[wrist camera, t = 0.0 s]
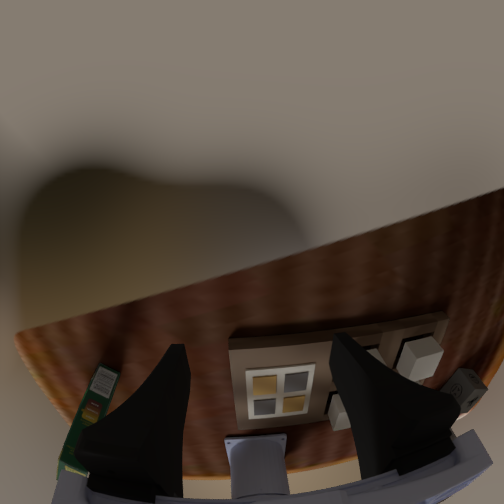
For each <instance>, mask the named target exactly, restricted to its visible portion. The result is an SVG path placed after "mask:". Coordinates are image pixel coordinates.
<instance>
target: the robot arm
mask: <svg viewBox="0 0 504 504" xmlns="http://www.w3.org/2000/svg"><path fill="white" fill-rule="evenodd" d="M329 367H330V371H331V375H332V378H333V381H334V384H335V386H336V389H337V391H338V394H339V396H340V398H341V401H342V403H343V406H344V408H345V411H346V413H347V416H348V419H349V422H350V425H351V429H352V433H353V437H354V441H355V446H356V450H357V455H358V460H359V466H360V473H361V479H362V480H360V481H356V482H353V483H348V484H345V485H341V486H336V487H331V488H326V489H321V490H316V491H311V492H305V493H298V494H291V495H290V491H289V485H288V478H287V472H286V466H285V460H284V455H285V447H286V439H287V435H286V434H285V433H282V434H273V435H262V436H247V437H227V438H225V446H226V450H227V454H228V459H229V463H230V469H231V494H232V499H190V498H183V484H182V483H183V481H182V447H183V430H184V423H185V418H186V412H187V406H188V400H189V394H190V381H191V372H190V368H189V364H188V359H187V355H186V350H185V346H184V344H171V345H170V347H169V348H168V350H167V351H166V353H165V354H164V356H163V357H162V359H161V360H160V362H159V363H158V365H157V366H156V367H155V369H154V370H153V371H152V373H151V374H150V375H149V377H148V378H147V379H146V380H145V381H144V383H143V384H142V385H141V386H140V387H139V388H138V389H137V390H136V391H135V393H134V394H132V395H131V396H130V397H129V398H128V399H127V400H126V401H125V402H124V403H123V404H122V405H120V406H119V407H118V408H117V409H115V410H114V411H113V412H111V413H110V414H108V415H107V416H105V417H104V418H102V419H101V420H99V421H97V422H95V423H94V424H92V425H90V426H88V427H86V428H84V429H82V431H81V433H80V435H79V437H78V440H77V443H76V446H75V449H74V452H73V453H74V456H75V458H76V459H77V460H78V462H79V463H80V464H81V465H82V466H83V467H84V468H85V469H86V470H87V471H89V472H90V475H89V478H87V477H85V476H83V475H80V474H77V473H73V472H70V471H67V470H64V469H62V470H61V472H60V475H59V479H58V482H57V485H56V489H55V493H54V496H53V499H52V503H51V504H436V503H438V502H440V501H442V500H444V499H446V498H447V497H449V496H451V495H453V494H454V493H456V492H458V491H460V490H461V489H463V488H464V487H466V486H468V485H469V484H470V483H471V482H472V481H474V480H475V479H476V478H477V477H479V476H480V475H481V474H482V473H483V472H484V471H485V470H487V469H488V468H489V467H490V466H491V465H492V464H493V461H492V460H491V458H490V456H489V454H488V453H487V451H486V449H485V448H484V446H483V444H482V442H481V441H480V439H479V437H478V436H477V434H476V433H475V431H474V429H472V430H470V431H468V432H466V433H464V434H462V435H461V436H459V437H457V438H456V439H454V440H453V441H452V440H451V438H450V436H451V435H452V432H451V431H450V428H451V426H452V425H453V423H454V422H455V421H456V419H457V418H458V416H459V415H460V412H461V406H460V405H459V403H458V402H457V400H456V399H455V397H454V396H453V395H452V394H448V393H444V392H441V391H437V390H434V389H431V388H428V387H425V386H423V385H420V384H418V383H416V382H414V381H412V380H409V379H407V378H405V377H404V376H402V375H400V374H398V373H397V372H395V371H393V370H392V369H390V368H389V367H387V366H386V365H384V364H383V363H382V362H380V361H379V360H378V359H376V358H375V357H374V356H373V355H371V354H370V353H369V352H368V351H366V350H365V349H364V348H363V347H362V346H361V345H360V344H358V343H357V342H356V341H355V340H354V339H353V338H352V337H351V336H349V335H348V334H347V333H346V332H341V333H334V335H333V341H332V347H331V352H330V358H329Z"/></svg>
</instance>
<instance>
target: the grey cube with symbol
mask: <svg viewBox="0 0 504 504" xmlns="http://www.w3.org/2000/svg"><path fill="white" fill-rule="evenodd" d="M487 390H488V388H487V387H486V386H485V384H484V383H483V382H482V381H481V379H480V378H479V377H478V375H477V374H476V373H475V372H474V370H472V369H464V368H458V369H457V371H456V372H455V373H454V374H453V376H452V377H451V378H450V379H449V380H448V382H447V383H446V384H445V385H444V386H443V387H442V389H441V390H440V391H441V392H444V393H448V394H452V395H453V396H454V397H455V399H456V400H457V402H458V403H459V405H460V406H461V412H460V413H467V412H468V411H469V410H470V409H471V408H472V407H473V406H474V405H475V404H476V403H477V402H478V400H479V399H480V398H481V397H482V396H483V395H484V394H485V392H486V391H487Z"/></svg>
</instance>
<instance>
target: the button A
mask: <svg viewBox="0 0 504 504" xmlns="http://www.w3.org/2000/svg"><path fill="white" fill-rule="evenodd" d="M328 416H329V419H330V422H331V425H332V428H333V431H337V430H342V429H346V428H351V425H350V422H349V419H348V416H347V413H346V411H345V408H344V406H343V403H342V401H341V398H340V396H339V394H335V395H333V396H332V400H331V404H330V408H329V411H328Z"/></svg>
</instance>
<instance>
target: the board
mask: <svg viewBox="0 0 504 504" xmlns="http://www.w3.org/2000/svg"><path fill="white" fill-rule="evenodd" d="M449 320H450V318H449V317H448V316H447V315H446V314H445V313H444V312H443V311H439V312H434V313H429V314H425V315H420V316H414V317H409V318H404V319H398V320H393V321H387V322H381V323H375V324H368V325H362V326H355V327H348V328H340V329H332V330H324V331H315V332H306V333H296V334H286V335H274V336H261V337H246V338H229V358H230V367H231V376H232V384H233V393H234V401H235V409H236V417H237V425H238V430H246V429H261V428H272V427H282V426H290V425H298V424H305V423H312V422H318V421H324V420H330V419H329V416H328V411H329V408H330V404H331V403H329V404H326V403H327V399H328V395H329V392H331V391H337V389H336V386H335V384H334V381H333V378H332V375H331V371H330V367H329V358H330V352H331V347H332V341H333V335H334V333H341V332H346V333H347V334H348V335H349V336H351V337H352V338H353V339H354V340H355V341H356V342H357V343H358V344H360V345H361V346H362V347H363V346H369V345H371V347H370V350H371V349H377V350H378V352H379V354H380V355H381V357H382V359H383V360H384V362H385V364H386V365H387V367H389V368H390V369H392V370H393V371H395V372H397V373H398V374H400V373H399V372H398V370H397V368H396V367H397V364H398V362H399V359H400V357H399V358H396V356H397V353H398V350H399V347H400V344H401V341H402V339H404V338H409V337H413V336H417V335H422V334H424V335H423V338H426V337H430V336H432V337H433V338H434V339H435V341H436V342H437V343H438V344H439V345H440V344H441V341H442V338H443V336H444V333H445V331H446V328H447V325H448V322H449ZM424 380H425V379H421V380H419V381H420V383H421V385H422V384H423V382H424Z"/></svg>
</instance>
